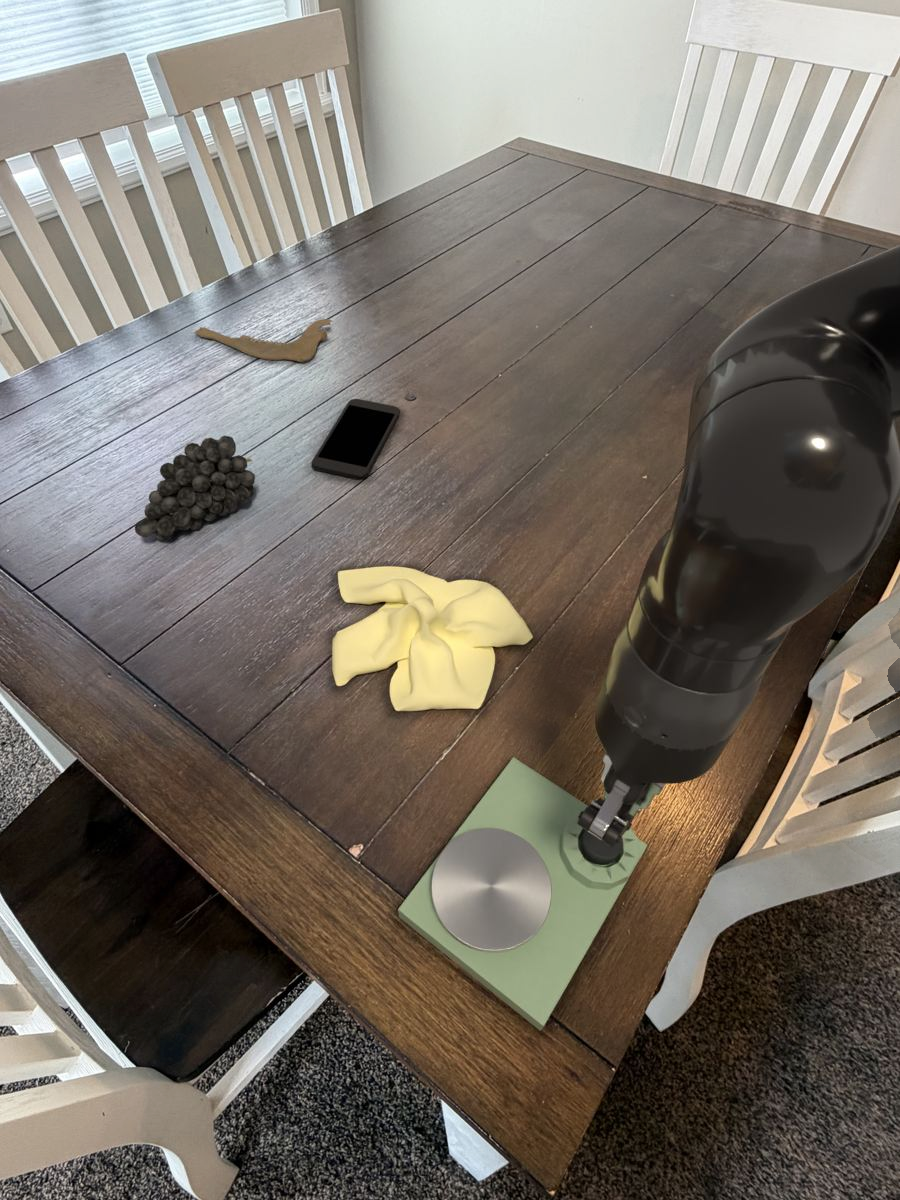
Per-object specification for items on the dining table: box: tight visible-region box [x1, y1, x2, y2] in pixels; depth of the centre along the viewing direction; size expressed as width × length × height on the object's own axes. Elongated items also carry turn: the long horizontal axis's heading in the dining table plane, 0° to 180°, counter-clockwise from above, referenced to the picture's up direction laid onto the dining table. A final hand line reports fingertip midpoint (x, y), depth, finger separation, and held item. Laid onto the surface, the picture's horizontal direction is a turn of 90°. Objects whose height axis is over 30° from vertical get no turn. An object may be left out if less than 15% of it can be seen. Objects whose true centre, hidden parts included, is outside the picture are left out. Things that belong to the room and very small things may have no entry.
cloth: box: [331, 565, 534, 712], centre depth 72 cm, size 22×19×6 cm
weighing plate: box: [431, 828, 552, 953], centre depth 55 cm, size 9×9×1 cm
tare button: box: [581, 830, 623, 865], centre depth 57 cm, size 3×3×2 cm
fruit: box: [134, 435, 256, 541], centre depth 82 cm, size 9×8×15 cm
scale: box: [397, 757, 648, 1032], centre depth 57 cm, size 16×13×4 cm
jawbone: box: [193, 318, 333, 363], centre depth 107 cm, size 9×20×2 cm, turn 95°
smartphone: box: [311, 398, 401, 480], centre depth 94 cm, size 7×15×1 cm, turn 165°
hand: (616, 816), depth 53 cm, fingers closed
